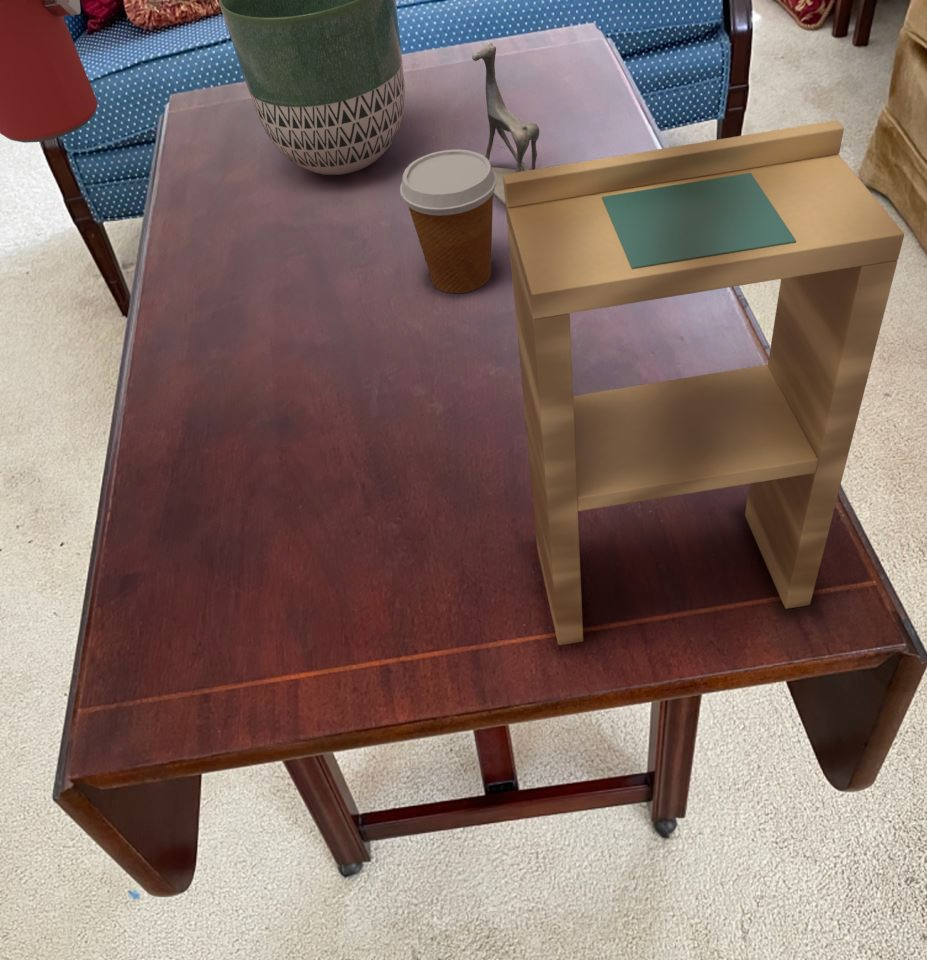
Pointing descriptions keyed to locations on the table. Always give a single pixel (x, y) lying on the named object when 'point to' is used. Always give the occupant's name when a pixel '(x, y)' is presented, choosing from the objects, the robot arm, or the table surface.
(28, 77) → the beer can
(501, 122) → the figurine
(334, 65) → the planter
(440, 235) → the disposable coffee cup
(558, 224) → the shelf
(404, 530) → the table surface
